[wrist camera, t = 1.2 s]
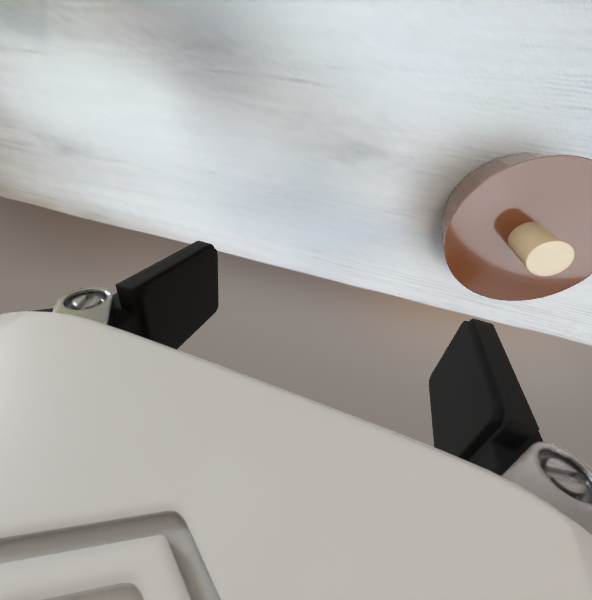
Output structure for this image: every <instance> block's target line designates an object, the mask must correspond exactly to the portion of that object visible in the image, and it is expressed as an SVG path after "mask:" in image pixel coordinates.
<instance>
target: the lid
mask: <svg viewBox="0 0 592 600" xmlns="http://www.w3.org/2000/svg"><path fill="white" fill-rule="evenodd" d="M444 254H445V258H446V261H447V264H448V267H449V269H450V271H451V272H452V274H453V275H454V277H455V278H456V279H457V280H458V281H459V282H460V283H461V284H462V285H464V286H465V287H466V288H468V289H469V290H471V291H473V292H475V293H477V294H479V295H482V296H485V297H488V298H492V299H498V300H508V301H521V300H530V299H536V298H541V297H545V296H549V295H552V294H555V293H558V292H560V291H563V290H565V289H567V288H570V287H572V286H574V285H576V284H577V283H579V282H581V281H583V280H584V279H586V278H587V277H589V276H590V275H591V274H592V160H591V159H588V158H583V157H578V156H573V155H545V156H539V157H533V158H530V159H526V160H522V161H519V162H516V163H514V164H511V165H509V166H506V167H505V168H503V169H501V170H499V171H497V172H495V173H493V174H492V175H490V176H489V177H487V178H485V179H484V180H483V181H481V182H480V183H479V184H478V185H476V186H475V187H474V188H473V189H472V190H471V191H470V192H469V193H468V194H467V195H466V196H465V197H464V198H463V199H462V201H461V202H460V203H459V204H458V206H457V207H456V209H455V210H454V212H453V214H452V216H451V218H450V220H449V222H448V225H447V228H446V231H445V237H444Z"/></svg>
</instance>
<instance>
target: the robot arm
mask: <svg viewBox="0 0 592 600" xmlns="http://www.w3.org/2000/svg"><path fill="white" fill-rule="evenodd" d="M116 288H117V292H118V293H116V294H114V295H112V292H111V291H109V290H108V289H106V288H101V287H86V288H80V289H76V290H73V291H70V292H68V293H66V294H64V295H63V296H62V297H60V298H59V299H58V301H57V302H56V305H55V307H54V308H52V309H44V310H37V311H28V312H12V313H6V314H1V315H0V600H592V469H591V468H590V467H589V466H587V465H586V464H585V463H584V462H583V461H582V460H581V459H579V458H578V457H577V456H575V455H574V454H572V453H571V452H569V451H568V450H565V449H564V448H562V447H560V446H558V445H555V444H552V443H548V442H543V440H542V438H541V436H540V433H539V431H538V430H539V427H538V425H537V423H536V421H535V418H534V416H533V414H532V411H531V409H530V407H529V405H528V402H527V400H526V398H525V396H524V394H523V391H522V389H521V387H520V384H519V382H518V380H517V378H516V375H515V373H514V371H513V369H512V366H511V364H510V362H509V359H508V357H507V355H506V353H505V350H504V348H503V346H502V344H501V341H500V339H499V337H498V335H497V332H496V330H495V328H494V326H493V325H492V324H490V323H487V322H484V321H480V320H476V319H472V320H470V321H469V322H468V321H464V322H463V323H462V324H461V326H460V327H459V329H458V331H457V333H456V334H455V336H454V338H453V339H452V341H451V343H450V344H449V346H448V347H447V349H446V351H445V353H444V354H443V356H442V358H441V359H440V361H439V363H438V364H437V366H436V368H435V369H434V371H433V373H432V374H431V377H430V380H429V391H430V402H431V413H432V425H433V435H434V436H433V437H434V447H432V446H429V445H427V444H424V443H421V442H419V441H416V440H414V439H411V438H409V437H406V436H403V435H401V434H399V433H396V432H394V431H391V430H388V429H386V428H383V427H380V426H378V425H375V424H373V423H370V422H368V421H365V420H362V419H360V418H357V417H354V416H352V415H349V414H347V413H344V412H341V411H339V410H336V409H333V408H331V407H328V406H326V405H323V404H320V403H318V402H315V401H312V400H310V399H307V398H305V397H302V396H299V395H297V394H294V393H291V392H289V391H286V390H283V389H281V388H278V387H275V386H273V385H270V384H268V383H265V382H262V381H259V380H257V379H254V378H252V377H249V376H246V375H244V374H241V373H238V372H236V371H233V370H230V369H227V368H225V367H222V366H219V365H217V364H214V363H211V362H209V361H206V360H203V359H201V358H198V357H195V356H192V355H190V354H187V353H184V352H181V351H179V350H177V349H178V348H179V347H180V346H181V345H182V344H183V343H184V342H185V341H186V340H187V339H188V338H189V337H190V336H191V335H192V334H193V333H194V332H195V331H196V330H197V329H199V328H200V327H201V326H202V325H203V324H204V323H205V322H206V321H207V320H208V319H209V318H210V317H211V316H212V315H213V314H214V313H215V312H216V310H217V308H218V256H217V250H216V249H214V246H213V245H212V244H208V243H205V242H201V241H196V242H195V243H193V244H191V245H189V246H187V247H185V248H183V249H181V250H180V251H178V252H176V253H174V254H172V255H170V256H168V257H167V258H165V259H163V260H161V261H159V262H157V263H155V264H153V265H152V266H150V267H148V268H146V269H144V270H143V271H140V272H139V273H137V274H135V275H133V276H131V277H129V278H127V279H125V280H123V281H122V282H120V283H118V284H116Z"/></svg>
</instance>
